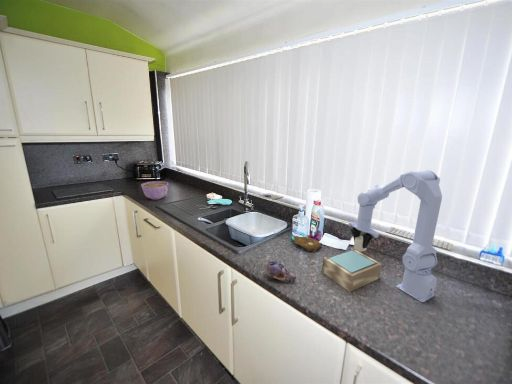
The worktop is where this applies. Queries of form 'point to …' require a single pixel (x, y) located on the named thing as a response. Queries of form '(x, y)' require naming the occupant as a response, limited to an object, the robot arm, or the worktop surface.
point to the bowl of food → (155, 189)
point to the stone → (359, 244)
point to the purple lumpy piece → (279, 272)
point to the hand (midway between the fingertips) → (360, 245)
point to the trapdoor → (352, 261)
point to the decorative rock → (307, 243)
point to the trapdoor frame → (349, 279)
